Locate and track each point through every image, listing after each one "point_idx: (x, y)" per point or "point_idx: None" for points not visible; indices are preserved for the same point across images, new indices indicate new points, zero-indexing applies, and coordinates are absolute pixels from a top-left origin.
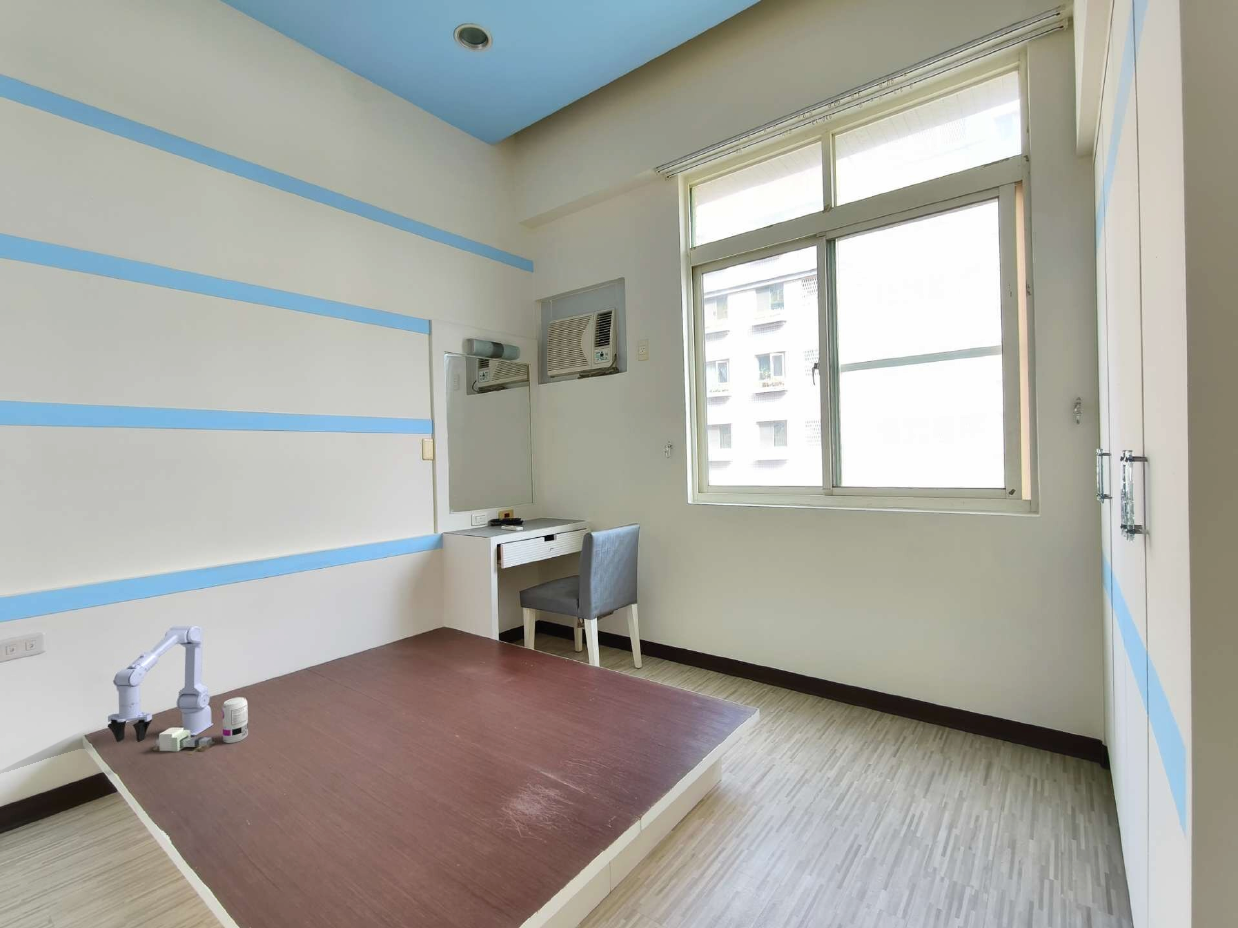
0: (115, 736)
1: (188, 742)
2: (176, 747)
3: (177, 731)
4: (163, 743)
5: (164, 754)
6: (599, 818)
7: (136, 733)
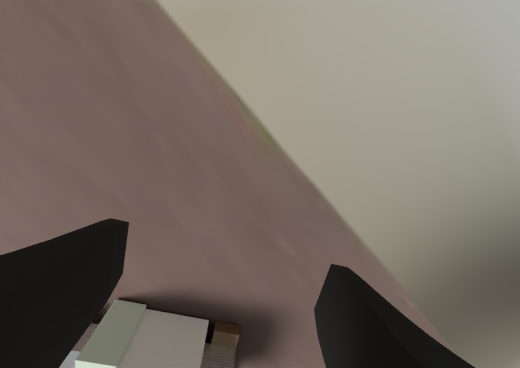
0: (377, 298)
1: None
2: (111, 314)
3: None
4: (180, 345)
5: (164, 285)
6: None
7: (50, 260)
